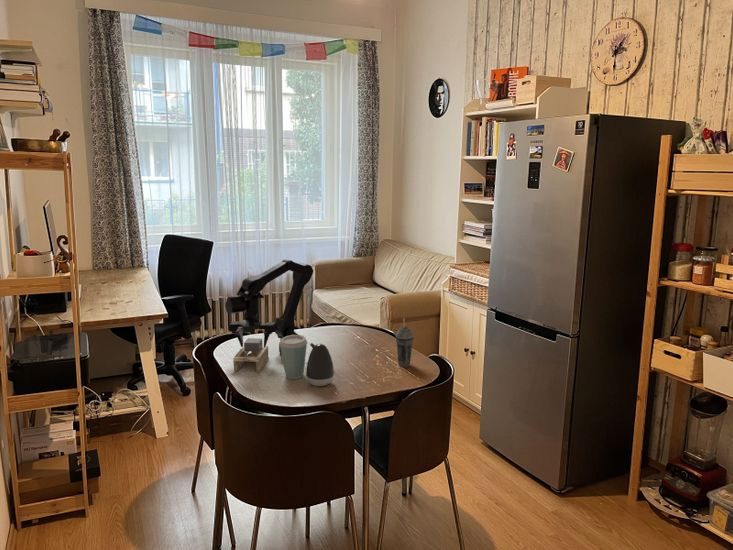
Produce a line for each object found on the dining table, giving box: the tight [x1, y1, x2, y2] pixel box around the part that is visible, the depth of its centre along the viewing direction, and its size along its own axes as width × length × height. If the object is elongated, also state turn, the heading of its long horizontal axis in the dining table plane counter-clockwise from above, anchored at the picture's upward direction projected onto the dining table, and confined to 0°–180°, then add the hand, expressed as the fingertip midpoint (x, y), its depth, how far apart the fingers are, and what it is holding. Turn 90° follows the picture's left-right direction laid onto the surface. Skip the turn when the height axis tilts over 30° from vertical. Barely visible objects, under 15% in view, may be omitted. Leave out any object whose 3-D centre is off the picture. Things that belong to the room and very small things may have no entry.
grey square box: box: [243, 337, 264, 357], centre depth 233 cm, size 6×6×7 cm
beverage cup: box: [395, 317, 414, 368], centre depth 230 cm, size 7×7×20 cm
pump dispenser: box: [305, 342, 335, 387], centre depth 210 cm, size 10×10×15 cm
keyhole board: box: [232, 345, 269, 373], centre depth 230 cm, size 10×16×6 cm, turn 177°
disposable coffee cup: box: [278, 334, 308, 380], centre depth 218 cm, size 11×11×15 cm
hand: (253, 347), depth 233 cm, fingers open, 9 cm apart
